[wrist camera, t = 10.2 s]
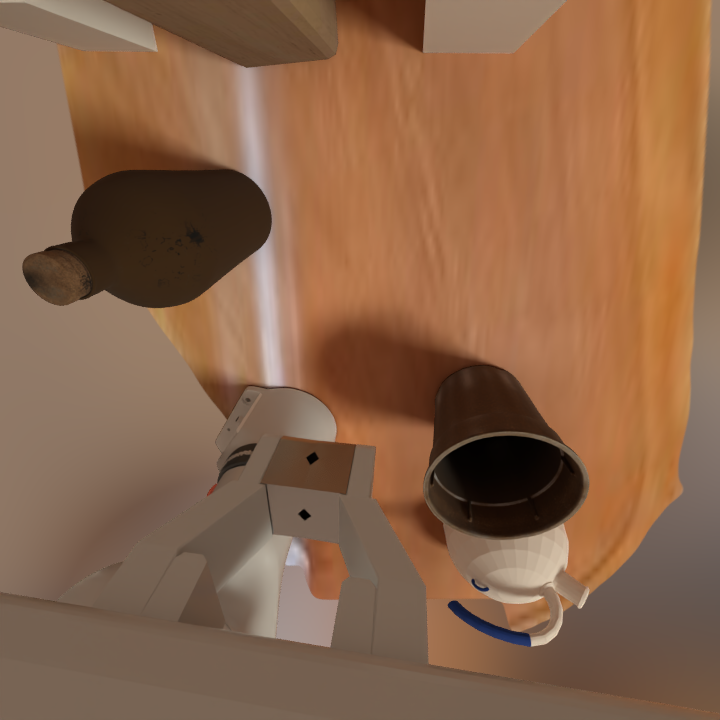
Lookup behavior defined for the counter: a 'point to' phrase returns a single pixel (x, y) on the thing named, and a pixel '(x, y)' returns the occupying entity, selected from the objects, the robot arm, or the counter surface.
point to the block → (247, 27)
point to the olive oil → (153, 237)
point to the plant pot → (498, 460)
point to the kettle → (516, 577)
